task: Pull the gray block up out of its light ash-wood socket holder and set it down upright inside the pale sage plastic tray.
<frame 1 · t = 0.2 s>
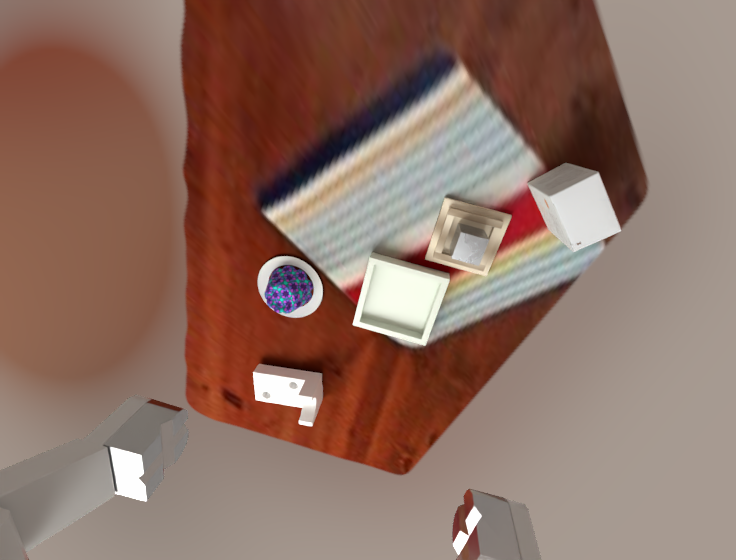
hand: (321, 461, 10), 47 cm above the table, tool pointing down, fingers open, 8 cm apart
small box: (555, 196, 50), on the table
tray: (399, 296, 60), on the table
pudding: (291, 285, 63), on the table
gray block: (466, 238, 54), point 1 cm above the table, touching socket holder
bracket: (292, 378, 72), on the table
socket holder: (466, 237, 54), on the table
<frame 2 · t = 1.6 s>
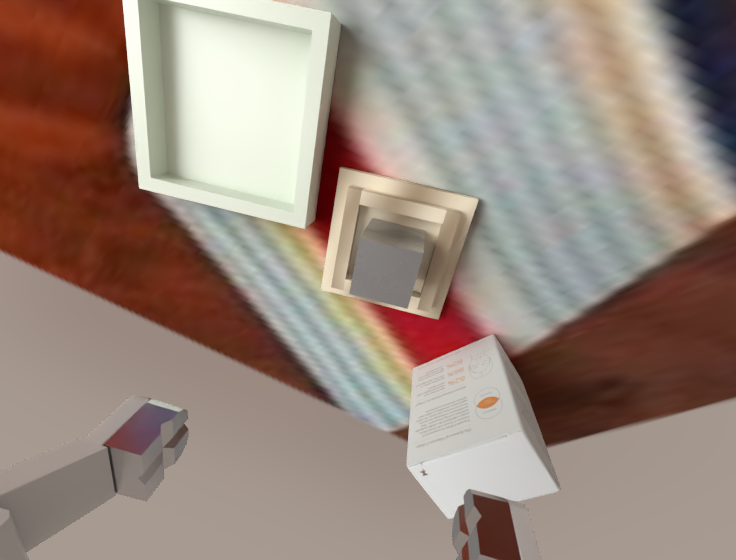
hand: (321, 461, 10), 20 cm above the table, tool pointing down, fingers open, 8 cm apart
small box: (466, 371, 32), on the table
tray: (240, 113, 25), on the table
gray block: (392, 248, 27), point 1 cm above the table, touching socket holder
socket holder: (393, 245, 28), on the table
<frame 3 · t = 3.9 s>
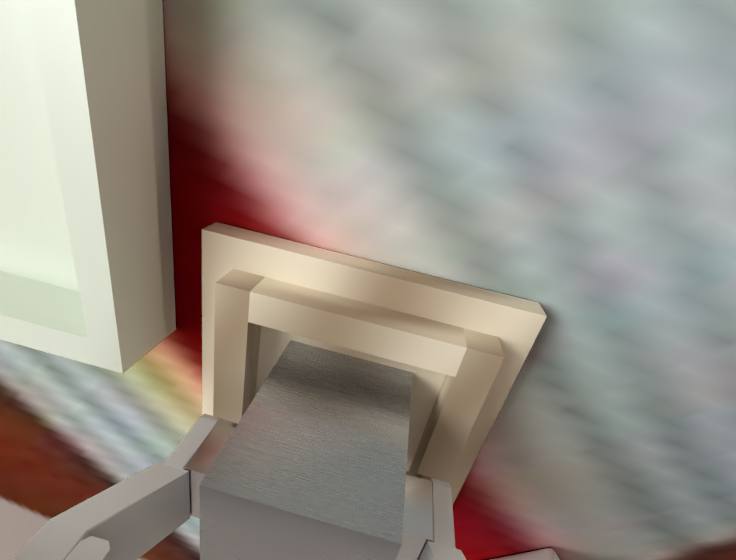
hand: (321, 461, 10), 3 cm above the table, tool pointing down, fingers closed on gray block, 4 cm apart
gray block: (340, 402, 12), point 1 cm above the table, touching gripper, socket holder
socket holder: (345, 386, 13), on the table
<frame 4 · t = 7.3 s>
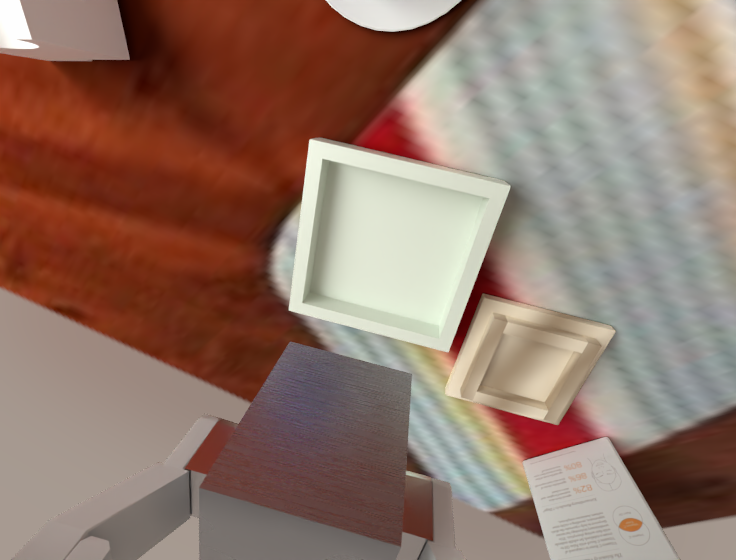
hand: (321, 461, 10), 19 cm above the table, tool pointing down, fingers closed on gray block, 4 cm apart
small box: (573, 464, 34), on the table
tray: (389, 245, 27), on the table
gray block: (340, 403, 12), point 17 cm above the table, touching gripper
socket holder: (521, 359, 29), on the table
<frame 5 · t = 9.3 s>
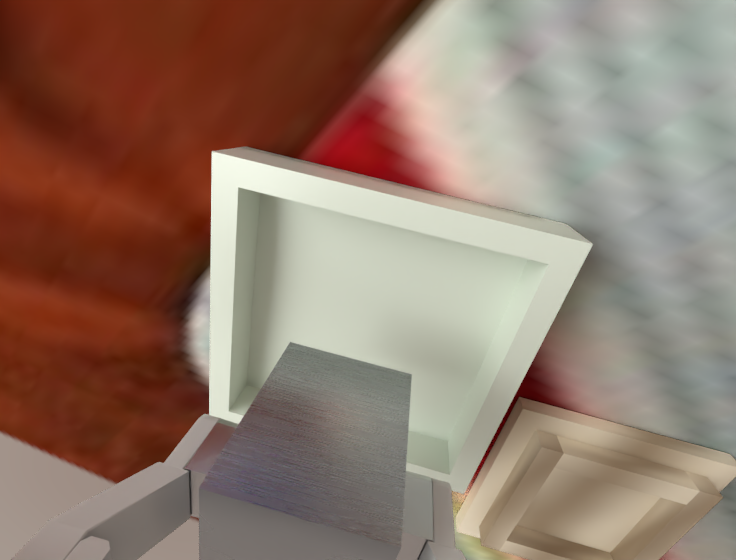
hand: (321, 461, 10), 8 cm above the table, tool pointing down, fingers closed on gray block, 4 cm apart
tray: (368, 320, 17), on the table
gray block: (339, 404, 12), point 5 cm above the table, touching gripper
socket holder: (575, 489, 19), on the table
when the fingers open (5 cm above the table, at t = 10.7 s): gray block drops 2 cm, resting on tray.
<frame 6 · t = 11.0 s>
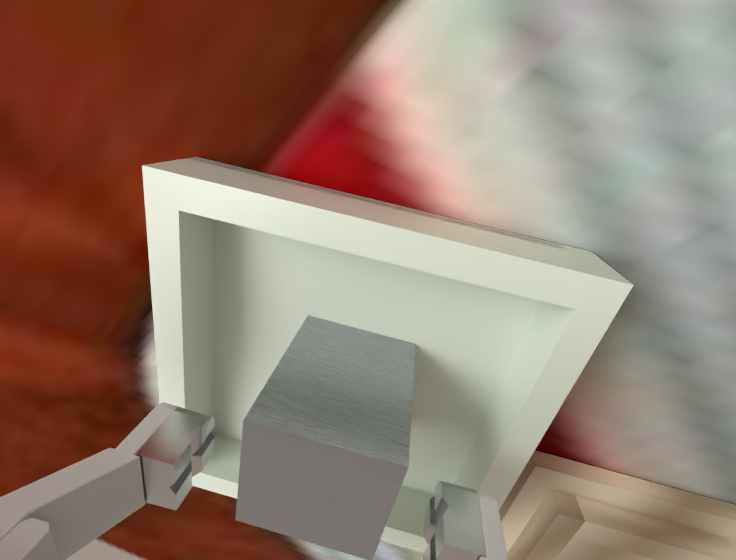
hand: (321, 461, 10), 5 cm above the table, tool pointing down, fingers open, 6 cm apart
tray: (351, 361, 14), on the table
gray block: (350, 371, 14), point 1 cm above the table, touching tray
socket holder: (594, 550, 16), on the table
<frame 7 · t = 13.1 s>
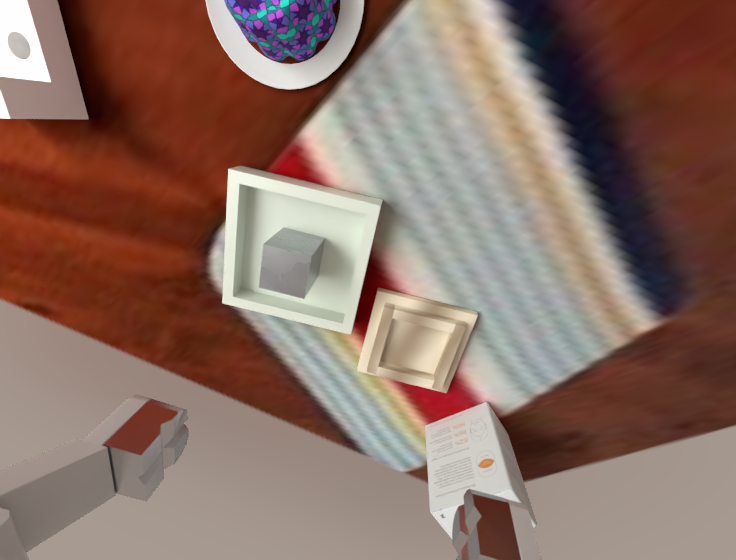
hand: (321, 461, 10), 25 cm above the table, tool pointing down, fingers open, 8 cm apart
small box: (465, 427, 41), on the table
tray: (302, 249, 34), on the table
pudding: (287, 0, 27), on the table
gray block: (301, 252, 34), point 1 cm above the table, touching tray
bracket: (38, 32, 29), on the table
socket holder: (413, 340, 37), on the table
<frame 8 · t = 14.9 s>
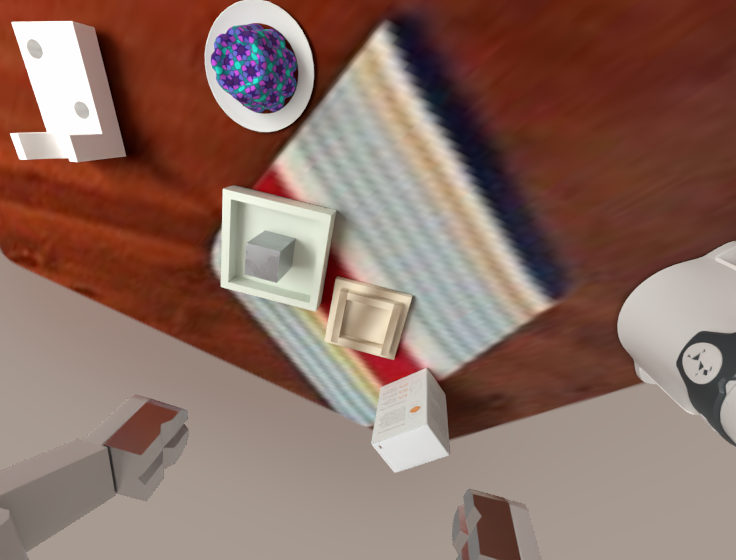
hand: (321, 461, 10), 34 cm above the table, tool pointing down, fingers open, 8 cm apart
small box: (413, 389, 52), on the table
tray: (279, 247, 45), on the table
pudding: (262, 71, 38), on the table
gray block: (278, 248, 45), point 1 cm above the table, touching tray
bracket: (92, 96, 42), on the table
socket holder: (366, 317, 48), on the table
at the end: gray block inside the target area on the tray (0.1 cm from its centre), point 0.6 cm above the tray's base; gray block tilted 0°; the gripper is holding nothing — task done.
